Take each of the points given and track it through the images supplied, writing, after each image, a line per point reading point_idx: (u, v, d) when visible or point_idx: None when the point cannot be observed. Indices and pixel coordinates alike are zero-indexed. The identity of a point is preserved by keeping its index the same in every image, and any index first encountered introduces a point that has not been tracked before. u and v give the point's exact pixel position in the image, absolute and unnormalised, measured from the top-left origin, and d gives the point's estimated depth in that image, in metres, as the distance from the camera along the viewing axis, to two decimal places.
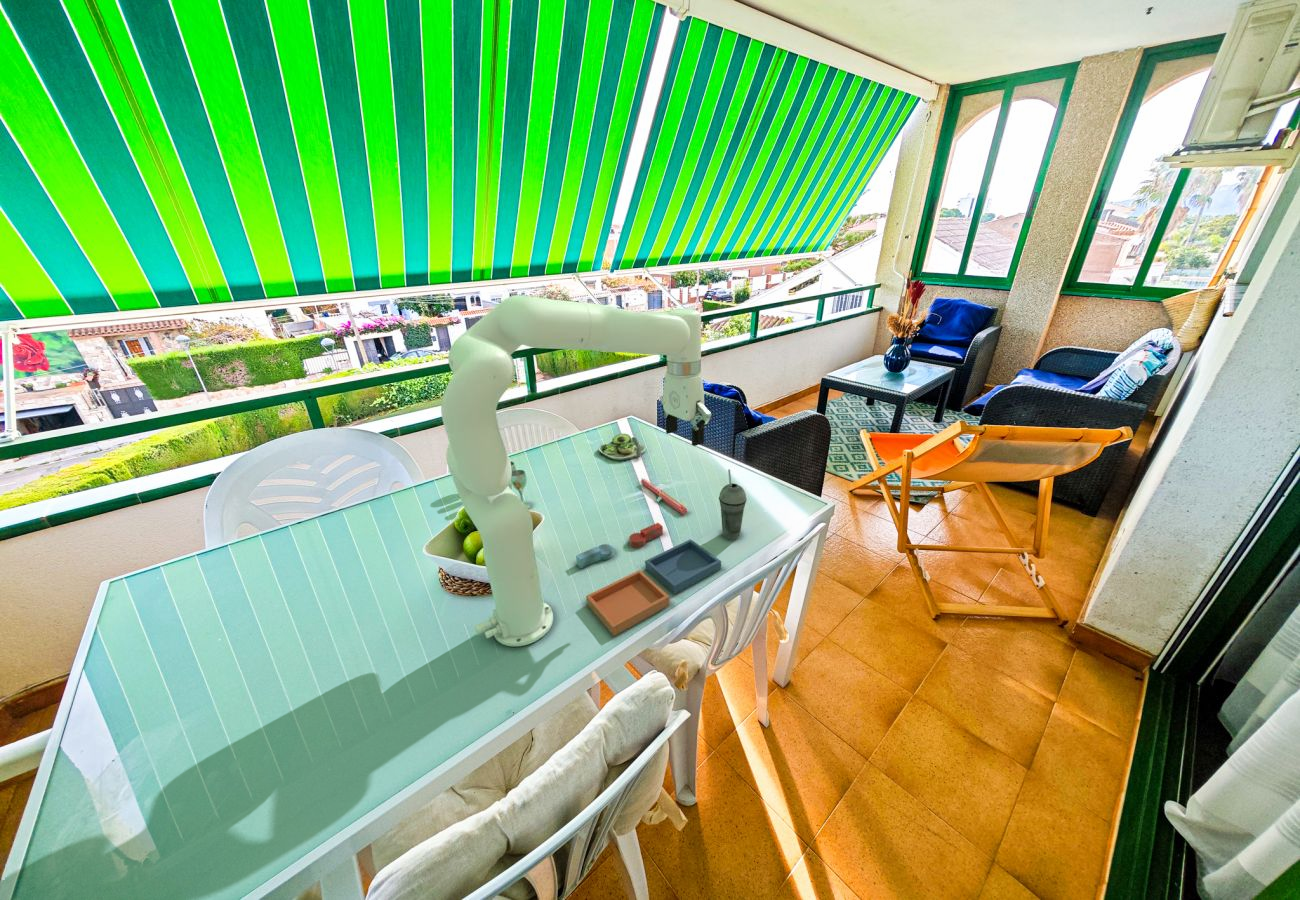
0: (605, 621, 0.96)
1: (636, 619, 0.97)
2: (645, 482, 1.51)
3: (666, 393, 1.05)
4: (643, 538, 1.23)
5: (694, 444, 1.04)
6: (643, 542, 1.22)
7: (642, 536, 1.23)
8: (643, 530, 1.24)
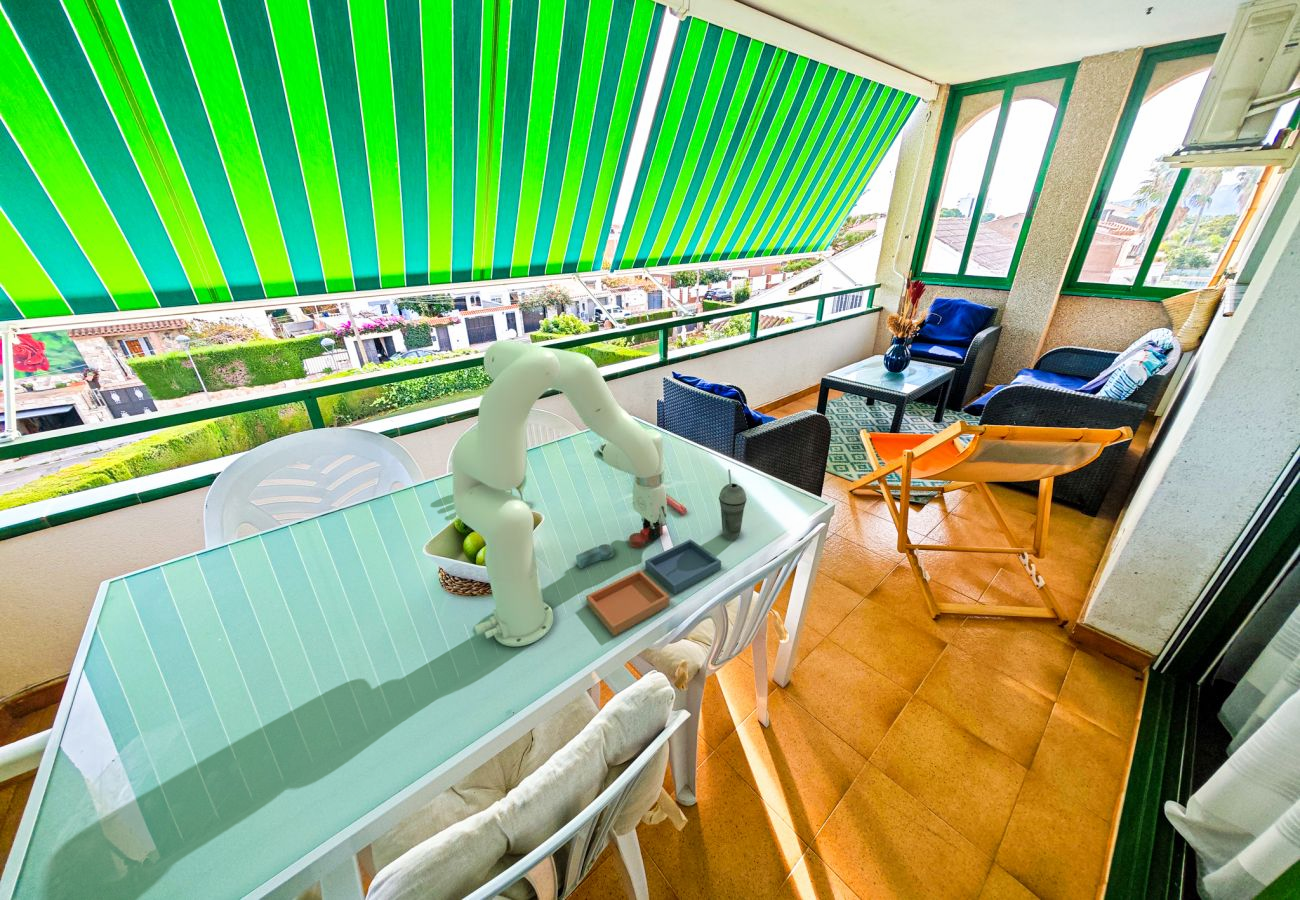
0: (605, 621, 0.96)
1: (636, 619, 0.97)
2: None
3: (635, 496, 1.22)
4: (643, 538, 1.23)
5: (651, 539, 1.24)
6: (643, 542, 1.22)
7: (642, 536, 1.23)
8: (643, 530, 1.24)
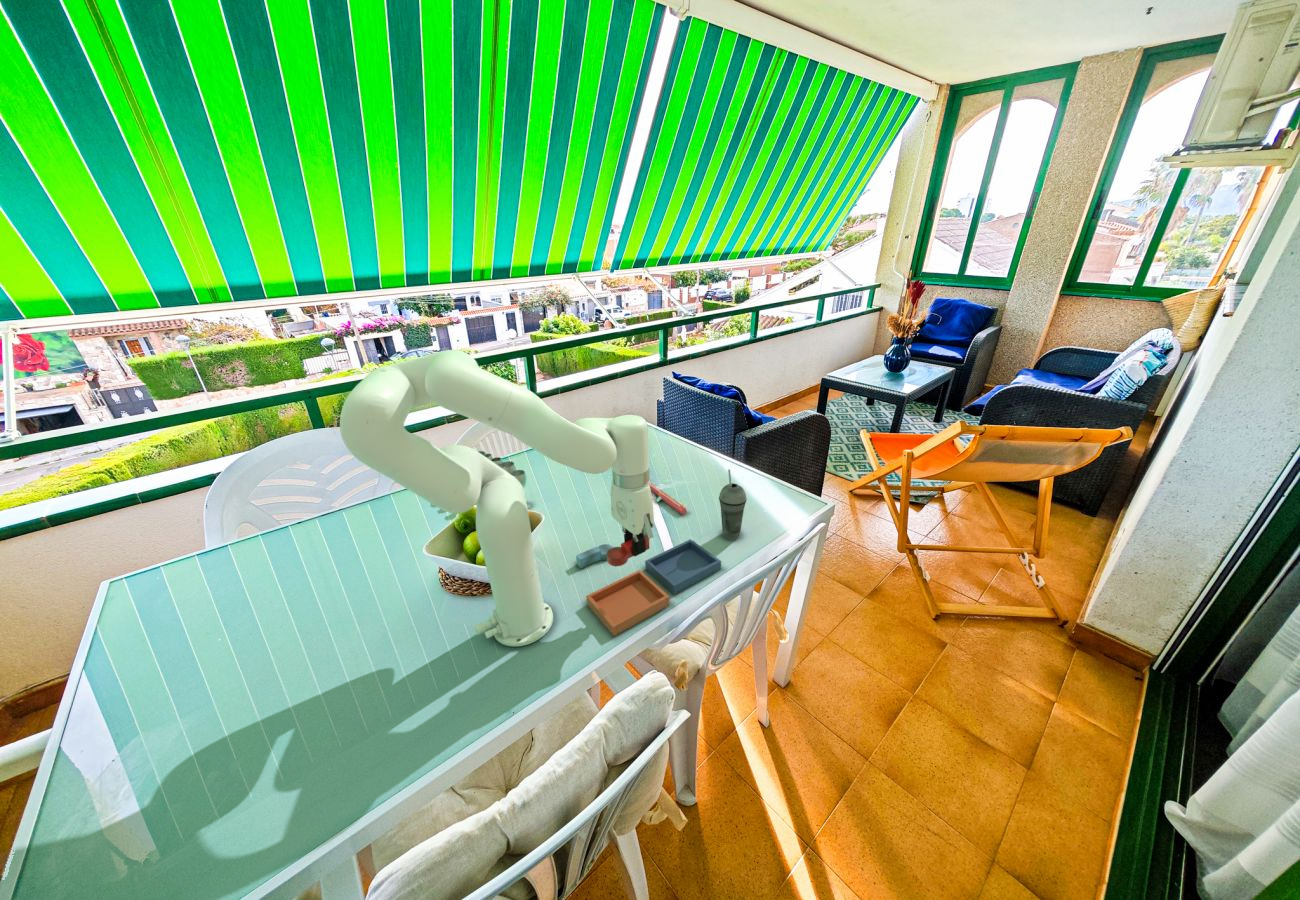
0: (605, 621, 0.96)
1: (636, 619, 0.97)
2: None
3: (613, 501, 0.96)
4: (624, 554, 0.97)
5: (635, 555, 0.98)
6: (624, 559, 0.96)
7: (623, 551, 0.98)
8: (624, 544, 0.98)
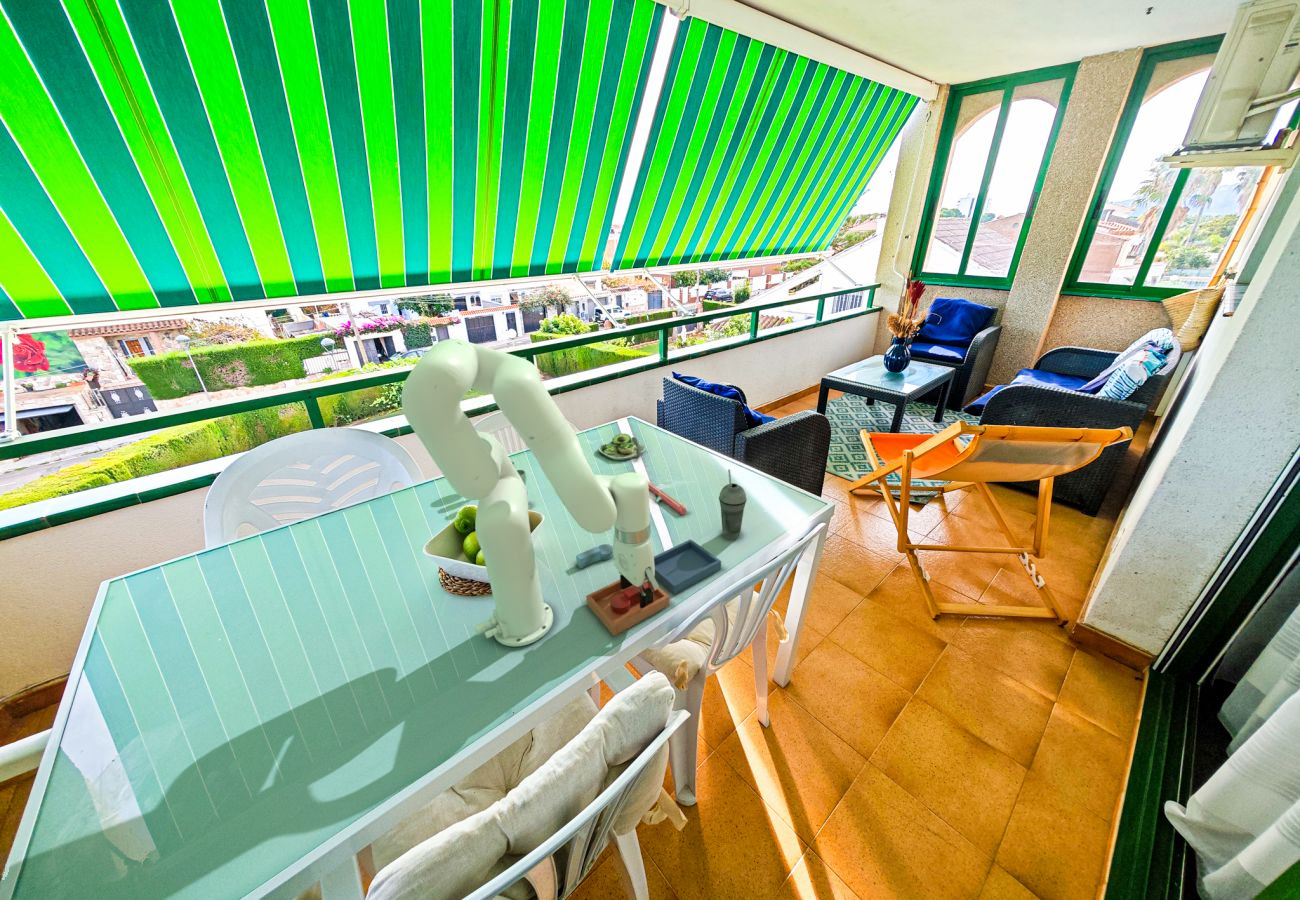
0: (605, 621, 0.96)
1: (636, 619, 0.97)
2: None
3: (616, 552, 0.99)
4: (627, 602, 1.00)
5: (642, 607, 1.00)
6: (627, 607, 1.00)
7: (626, 599, 1.01)
8: (627, 591, 1.02)
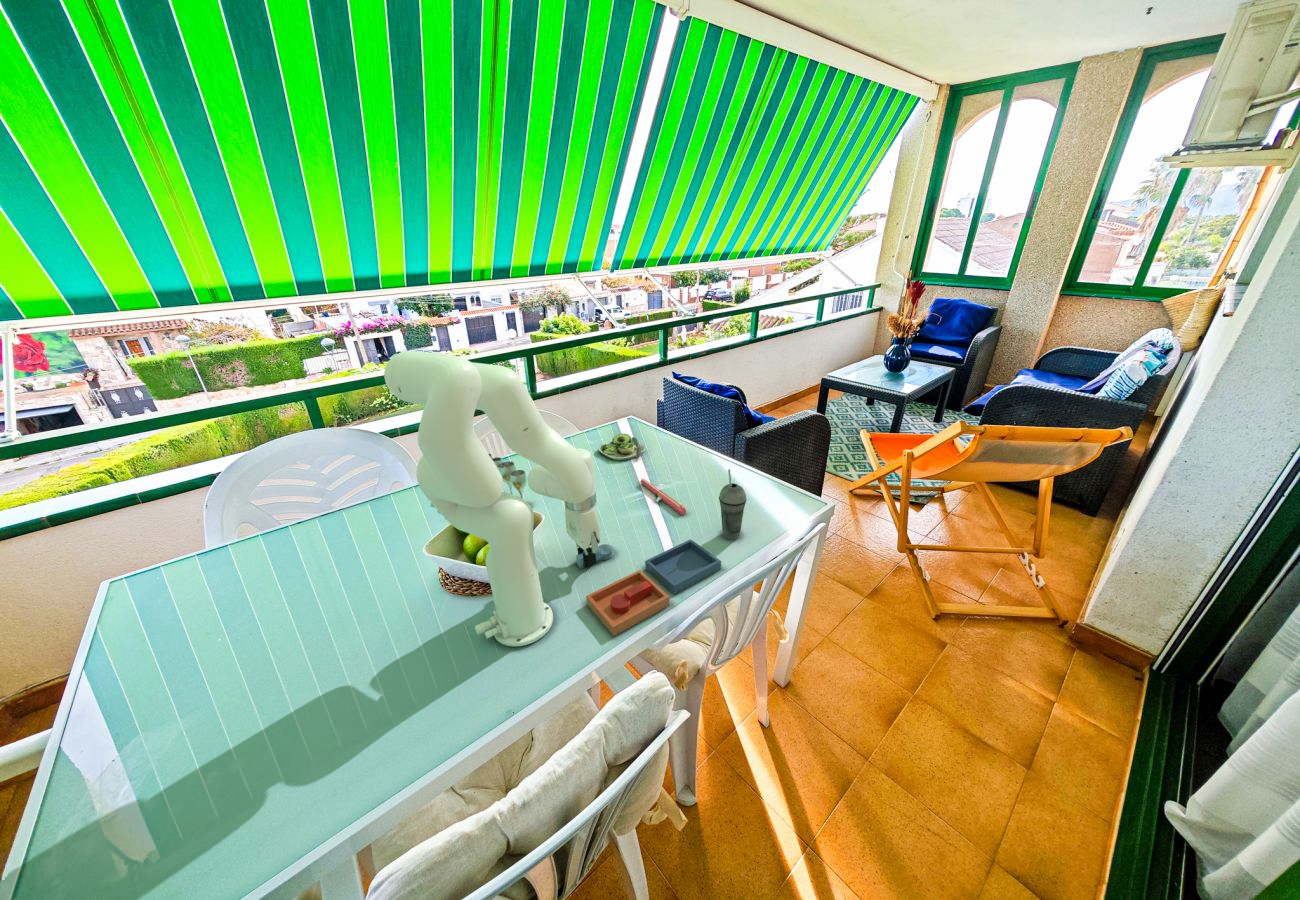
0: (605, 621, 0.96)
1: (636, 619, 0.97)
2: (645, 482, 1.51)
3: (567, 520, 1.13)
4: (627, 602, 1.00)
5: (586, 566, 1.15)
6: (627, 607, 1.00)
7: (626, 599, 1.01)
8: (627, 591, 1.02)
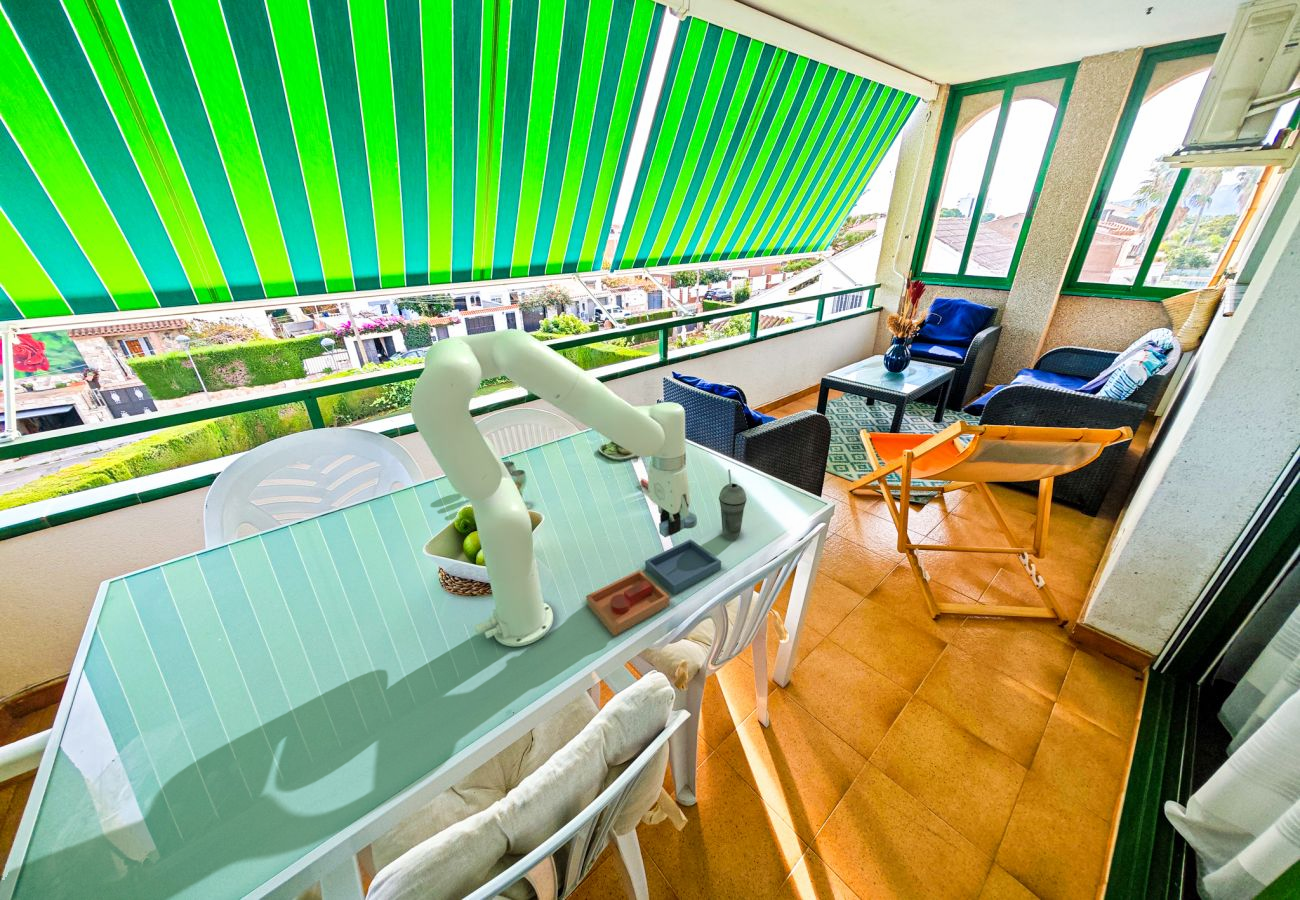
0: (605, 621, 0.96)
1: (636, 619, 0.97)
2: (644, 482, 1.51)
3: (651, 483, 1.03)
4: (627, 602, 1.00)
5: (671, 533, 1.05)
6: (627, 607, 1.00)
7: (626, 599, 1.01)
8: (627, 591, 1.02)
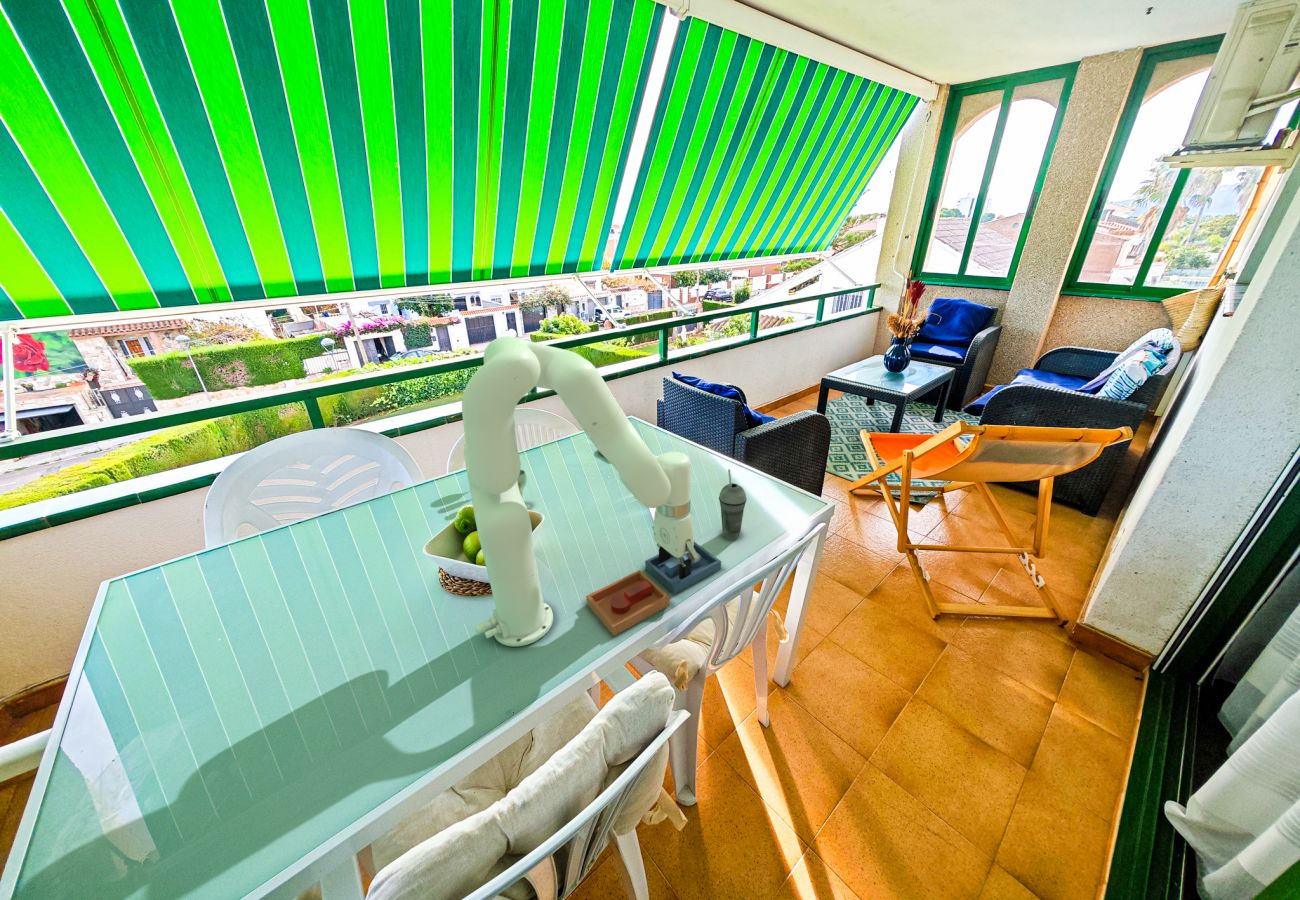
0: (605, 621, 0.96)
1: (636, 619, 0.97)
2: None
3: (657, 526, 1.07)
4: (627, 602, 1.00)
5: (681, 578, 1.07)
6: (627, 607, 1.00)
7: (626, 599, 1.01)
8: (627, 591, 1.02)
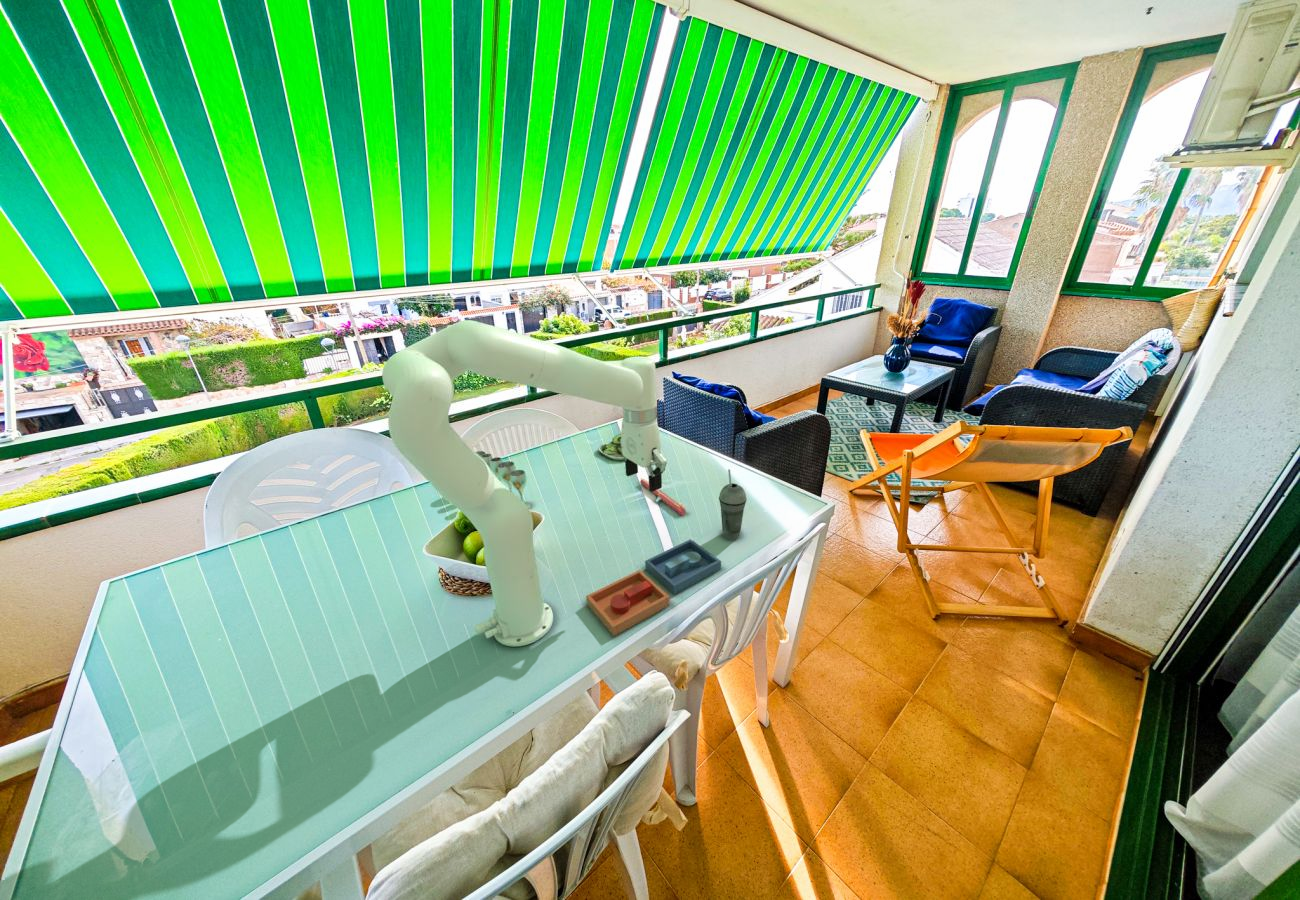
0: (605, 621, 0.96)
1: (636, 619, 0.97)
2: (644, 482, 1.51)
3: (624, 438, 1.05)
4: (627, 602, 1.00)
5: (651, 490, 1.04)
6: (627, 607, 1.00)
7: (626, 599, 1.01)
8: (627, 591, 1.02)
